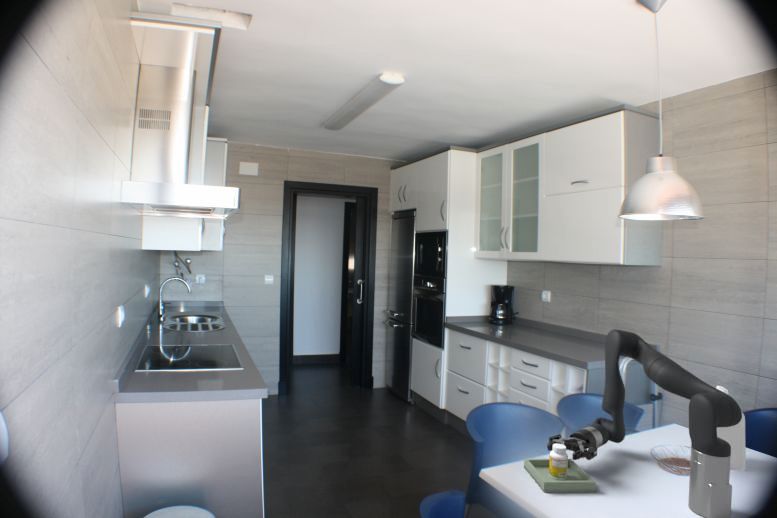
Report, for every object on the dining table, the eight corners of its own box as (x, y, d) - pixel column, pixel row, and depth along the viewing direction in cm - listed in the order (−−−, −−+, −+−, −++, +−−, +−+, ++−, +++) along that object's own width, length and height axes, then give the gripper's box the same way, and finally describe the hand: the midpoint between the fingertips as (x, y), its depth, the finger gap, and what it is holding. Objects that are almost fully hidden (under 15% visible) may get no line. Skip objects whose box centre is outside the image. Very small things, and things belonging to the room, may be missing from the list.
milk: (745, 470, 161) (749, 394, 160) (706, 465, 164) (710, 390, 163) (730, 456, 172) (733, 385, 172) (694, 451, 175) (697, 381, 175)
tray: (595, 492, 142) (595, 482, 142) (543, 492, 141) (544, 482, 141) (570, 467, 158) (570, 458, 158) (523, 467, 157) (524, 458, 157)
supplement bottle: (552, 470, 154) (553, 440, 153) (569, 476, 150) (570, 445, 150) (546, 476, 149) (547, 446, 149) (563, 482, 146) (565, 451, 146)
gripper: (567, 422, 166) (541, 433, 155) (607, 436, 155) (582, 447, 145) (566, 444, 166) (540, 455, 156) (606, 458, 155) (581, 472, 145)
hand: (560, 452), depth 150 cm, fingers open, 8 cm apart
